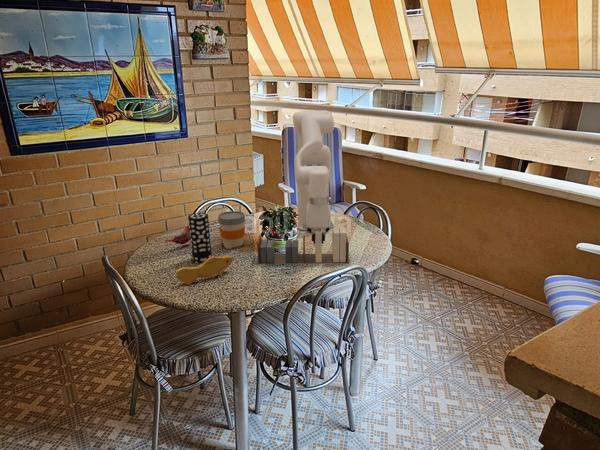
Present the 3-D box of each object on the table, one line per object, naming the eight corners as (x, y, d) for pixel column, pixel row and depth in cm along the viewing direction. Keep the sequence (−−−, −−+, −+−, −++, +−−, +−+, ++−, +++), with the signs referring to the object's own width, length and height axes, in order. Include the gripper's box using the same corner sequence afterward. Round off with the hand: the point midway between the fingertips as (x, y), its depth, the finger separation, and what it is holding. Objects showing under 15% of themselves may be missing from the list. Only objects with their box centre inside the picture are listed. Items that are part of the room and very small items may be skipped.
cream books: (332, 254, 177) (332, 226, 173) (344, 254, 177) (344, 226, 173) (333, 262, 170) (333, 233, 165) (345, 262, 169) (346, 233, 165)
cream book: (315, 254, 177) (315, 226, 173) (321, 254, 177) (321, 226, 173) (315, 262, 170) (315, 233, 166) (321, 262, 170) (321, 233, 165)
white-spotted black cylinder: (215, 257, 180) (211, 214, 173) (204, 264, 173) (200, 220, 166) (200, 254, 184) (196, 212, 177) (188, 261, 176) (183, 217, 170)
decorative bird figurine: (198, 242, 197) (196, 223, 194) (167, 254, 185) (164, 233, 181) (195, 241, 199) (193, 221, 196) (163, 252, 186) (161, 232, 183)
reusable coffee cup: (229, 238, 201) (227, 209, 196) (251, 242, 196) (250, 212, 190) (214, 248, 190) (212, 217, 185) (237, 252, 185) (235, 220, 180)
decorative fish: (233, 267, 166) (226, 246, 162) (236, 270, 164) (229, 249, 159) (182, 291, 159) (173, 270, 154) (184, 294, 156) (175, 273, 152)
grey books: (262, 255, 179) (261, 240, 176) (298, 254, 178) (298, 239, 176) (260, 262, 171) (259, 247, 169) (298, 262, 170) (297, 247, 168)
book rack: (260, 256, 180) (259, 235, 177) (346, 255, 178) (347, 234, 175) (257, 265, 170) (256, 243, 167) (348, 265, 169) (349, 243, 165)
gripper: (337, 197, 168) (337, 239, 174) (298, 198, 169) (299, 239, 175) (339, 202, 161) (338, 245, 167) (298, 203, 162) (298, 246, 168)
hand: (318, 242), depth 171 cm, fingers closed
